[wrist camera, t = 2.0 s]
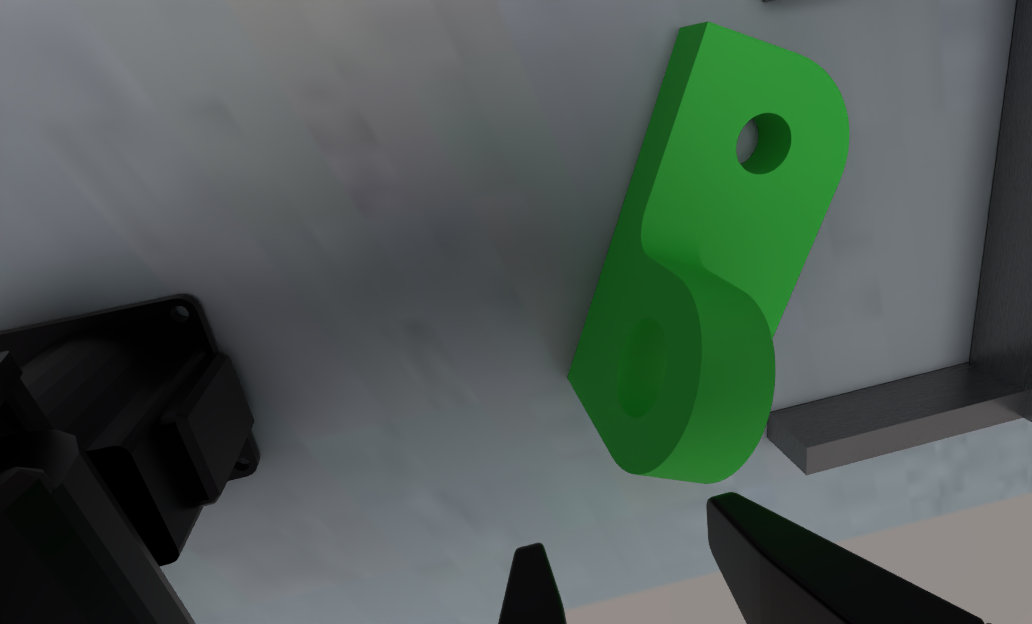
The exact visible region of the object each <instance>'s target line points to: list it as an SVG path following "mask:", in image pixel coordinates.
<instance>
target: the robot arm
mask: <svg viewBox="0 0 1032 624" xmlns="http://www.w3.org/2000/svg"><path fill="white" fill-rule="evenodd" d="M176 306H182V307H184V308H186V309H187V311H188V312H189V317H181V316H179V315H178V314H177V313H176V311H175V307H176ZM253 423H254V419H253V416H252V414H251V411H250V409H249V406H248V403H247V401H246V398H245V396H244V393H243V391H242V388H241V385H240V383H239V380H238V378H237V375H236V373H235V370H234V367H233V365H232V362H231V360H230V357H229V356H227V355H226V354H224V353H222V352H219V350H218V348H217V345H216V343H215V340H214V337H213V335H212V332H211V330H210V327H209V325H208V322H207V320H206V317H205V315H204V312H203V310H202V307H201V305H200V304H199V302H198V300H196V299H195V298H194V297H192V296H189V295H186V294H177V295H173V296H168V297H163V298H158V299H153V300H149V301H144V302H139V303H134V304H129V305H125V306H120V307H115V308H110V309H105V310H101V311H96V312H91V313H86V314H81V315H77V316H72V317H67V318H62V319H57V320H53V321H48V322H43V323H38V324H33V325H29V326H24V327H19V328H14V329H9V330H5V331H0V624H196V623H195V622H194V620H193V619H192V617H191V615H190V614H189V612H188V611H187V609H186V608H185V606H184V604H183V603H182V601H181V600H180V598H179V597H178V595H177V594H176V592H175V590H174V589H173V587H172V586H171V584H170V583H169V581H168V580H167V578H166V576H165V575H164V573H163V572H162V570H161V569H160V567H159V566H163V565H167V564H171V563H173V562H175V561H176V560H177V559H178V557H179V556H180V553H181V551H182V549H183V547H184V545H185V543H186V541H187V539H188V537H189V535H190V533H191V531H192V529H193V527H194V525H195V523H196V521H197V518H198V516H199V514H200V512H201V510H202V508H203V506H206V505H210V504H214V503H215V502H216V501H217V500H218V498H219V497H220V495H221V494H222V491H223V489H224V487H225V485H226V483H227V481H230V480H234V479H238V478H242V477H247V476H249V475H251V474H253V473H254V472H255V471H256V469H257V466H258V464H259V461H260V454H259V451H258V449H257V446H256V444H255V441H254V439H253V436H252V434H251V431H250V430H251V428H252V426H253ZM238 458H245V459H247V460H248V461H249V462H250V463H248V464H242V463H240V462H239V461H238V460H237V459H238ZM707 524H708V540H709V545H710V549H711V552H712V554H713V556H714V559H715V561H716V563H717V565H718V567H719V569H720V571H721V573H722V575H723V577H724V579H725V581H726V583H727V585H728V587H729V589H730V591H731V593H732V595H733V597H734V599H735V601H736V603H737V605H738V607H739V609H740V611H741V613H742V615H743V617H744V619H745V621H746V623H747V624H984V622H983V620H982V619H981V618H979V617H977V616H975V615H973V614H971V613H969V612H967V611H965V610H963V609H961V608H959V607H957V606H955V605H953V604H951V603H950V602H948V601H946V600H944V599H942V598H940V597H938V596H936V595H934V594H932V593H930V592H928V591H926V590H924V589H922V588H920V587H918V586H916V585H914V584H912V583H911V582H909V581H907V580H905V579H903V578H901V577H899V576H897V575H895V574H893V573H891V572H889V571H887V570H885V569H883V568H881V567H879V566H878V565H875V564H874V563H872V562H870V561H868V560H866V559H864V558H862V557H860V556H858V555H856V554H854V553H852V552H850V551H848V550H846V549H844V548H842V547H840V546H839V545H837V544H835V543H833V542H831V541H829V540H827V539H825V538H823V537H821V536H819V535H817V534H815V533H813V532H811V531H809V530H807V529H805V528H804V527H802V526H800V525H798V524H796V523H794V522H792V521H790V520H788V519H786V518H784V517H782V516H780V515H778V514H776V513H774V512H772V511H770V510H768V509H766V508H765V507H763V506H761V505H759V504H757V503H755V502H753V501H751V500H749V499H747V498H745V497H743V496H741V495H739V494H737V493H734V492H729V493H725V494H721V495H717V496H713V497H711V498H709V499H708V501H707ZM498 624H567V623H566V618H565V612H564V607H563V604H562V600H561V597H560V594H559V591H558V588H557V585H556V582H555V579H554V576H553V573H552V570H551V566H550V563H549V560H548V557H547V554H546V551H545V548H544V546H543V545H542V544H541V543H535V544H531V545H527V546H523V547H519V548H517V549H516V551H515V553H514V557H513V561H512V565H511V570H510V574H509V579H508V583H507V587H506V592H505V596H504V600H503V605H502V609H501V613H500V618H499V622H498ZM987 624H991V623H987Z"/></svg>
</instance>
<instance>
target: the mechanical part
mask: <svg viewBox="0 0 1032 624" xmlns="http://www.w3.org/2000/svg"><path fill="white" fill-rule="evenodd" d="M752 118H753V119H754V120H755V122H756V124H757V127H758V132H759V138H758V143H757V147H756V149H755V151H754V153H753V154H752V156H751V157H750V158H749V159H748V160H747V161H746V162H744V163H743V164H740V163H739V161H738V158H737V154H736V144H737V139H738V136H739V134H740V132H741V130H742V128H743V127H744V125H745V124H746V123H747V122H748V121H749V120H751V119H752ZM848 147H849V122H848V115H847V110H846V107H845V103H844V100H843V98H842V96H841V93H840V91H839V89H838V87H837V86H836V84H835V82H834V81H833V80H832V78H831V77H830V76H829V75H828V74H827V73H826V71H825V70H824V69H823V68H821V67H820V66H819V65H818V64H816V63H815V62H813V61H812V60H810V59H809V58H807V57H804V56H802V55H800V54H797V53H795V52H792V51H789V50H786V49H783V48H781V47H778V46H775V45H772V44H769V43H767V42H764V41H761V40H758V39H755V38H753V37H750V36H747V35H744V34H742V33H739V32H736V31H733V30H730V29H728V28H725V27H722V26H719V25H716V24H714V23H711V22H704V23H700V24H695V25H691V26H686V27H682V28H680V30H679V33H678V36H677V39H676V42H675V45H674V48H673V51H672V54H671V57H670V61H669V64H668V67H667V70H666V73H665V76H664V79H663V82H662V85H661V89H660V92H659V95H658V98H657V101H656V104H655V107H654V110H653V113H652V116H651V120H650V123H649V126H648V129H647V132H646V135H645V138H644V141H643V144H642V147H641V151H640V154H639V157H638V160H637V163H636V166H635V169H634V172H633V175H632V178H631V182H630V185H629V188H628V191H627V194H626V197H625V200H624V203H623V206H622V210H621V213H620V216H619V219H618V222H617V225H616V228H615V231H614V234H613V237H612V241H611V244H610V247H609V250H608V253H607V256H606V259H605V262H604V265H603V268H602V272H601V275H600V278H599V281H598V284H597V287H596V290H595V293H594V296H593V299H592V303H591V306H590V309H589V312H588V315H587V318H586V321H585V324H584V327H583V331H582V334H581V337H580V340H579V343H578V346H577V349H576V352H575V355H574V358H573V362H572V365H571V368H570V371H569V374H568V377H567V378H568V380H569V382H570V383H571V385H572V387H573V389H574V391H575V392H576V394H577V396H578V398H579V399H580V401H581V403H582V405H583V406H584V408H585V410H586V412H587V413H588V415H589V417H590V419H591V420H592V422H593V424H594V426H595V428H596V429H597V431H598V433H599V435H600V436H601V438H602V440H603V442H604V443H605V445H606V447H607V449H608V450H609V452H610V454H611V456H612V457H613V459H614V460H615V462H616V463H617V464H618V465H619V466H620V467H621V468H622V469H623V470H625V471H626V472H628V473H631V474H636V475H644V476H651V477H658V478H666V479H673V480H681V481H688V482H695V483H704V484H709V483H715V482H719V481H721V480H724V479H726V478H727V477H729V476H731V475H732V474H733V473H735V472H736V471H737V470H738V469H739V468H740V467H741V466H742V465H743V464H744V463H745V462H746V461H747V459H748V458H749V457H750V455H751V454H752V453H753V451H754V449H755V448H756V446H757V444H758V442H759V440H760V439H761V437H762V434H763V432H764V429H765V427H766V424H767V420H768V417H769V414H770V410H771V405H772V400H773V394H774V385H775V354H774V347H773V341H772V338H773V336H774V333H775V331H776V329H777V326H778V324H779V322H780V319H781V317H782V315H783V312H784V310H785V308H786V305H787V303H788V300H789V298H790V296H791V293H792V291H793V289H794V286H795V284H796V282H797V279H798V277H799V275H800V272H801V270H802V268H803V265H804V263H805V261H806V258H807V256H808V254H809V251H810V249H811V247H812V244H813V242H814V240H815V237H816V235H817V233H818V230H819V228H820V226H821V223H822V221H823V219H824V216H825V214H826V212H827V209H828V207H829V205H830V202H831V200H832V198H833V195H834V193H835V191H836V188H837V186H838V184H839V181H840V178H841V176H842V173H843V170H844V167H845V163H846V159H847V154H848Z"/></svg>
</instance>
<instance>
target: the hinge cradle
mask: <svg viewBox="0 0 1032 624" xmlns="http://www.w3.org/2000/svg"><path fill="white" fill-rule="evenodd" d="M767 1H773V0H763V2H767ZM1020 418H1025V419H1027V420H1029V421H1031V422H1032V0H1017V8H1016V15H1015V23H1014V31H1013V38H1012V46H1011V53H1010V61H1009V68H1008V76H1007V83H1006V91H1005V99H1004V106H1003V114H1002V121H1001V129H1000V136H999V144H998V151H997V159H996V167H995V174H994V182H993V189H992V197H991V204H990V212H989V219H988V227H987V235H986V242H985V250H984V257H983V265H982V272H981V280H980V287H979V295H978V303H977V310H976V318H975V325H974V333H973V340H972V348H971V355H970V362H969V363H965V364H961V365H957V366H953V367H949V368H945V369H941V370H937V371H933V372H929V373H925V374H921V375H917V376H913V377H910V378H906V379H902V380H898V381H894V382H890V383H886V384H882V385H878V386H874V387H870V388H866V389H862V390H858V391H854V392H850V393H846V394H842V395H838V396H834V397H830V398H826V399H822V400H818V401H814V402H810V403H806V404H803V405H799V406H795V407H791V408H787V409H783V410H779V411H775V412H771V413H770V414H769V417H768V439H769V440H770V441H771V442H772V443H773V444H774V445H775V446H776V447H777V448H778V449H780V450H781V451H782V452H783V453H784V454H785V455H786V456H787V457H788V458H789V459H790V460H791V461H792V462H793V463H794V464H795V465H796V466H797V467H798V468H799V469H800V470H801V471H803V472H804V473H805V474H806V475H809V474H813V473H816V472H820V471H824V470H828V469H831V468H835V467H839V466H843V465H846V464H850V463H854V462H858V461H862V460H865V459H869V458H873V457H877V456H880V455H884V454H888V453H892V452H895V451H899V450H903V449H907V448H910V447H914V446H918V445H922V444H926V443H929V442H933V441H937V440H941V439H944V438H948V437H952V436H956V435H959V434H963V433H967V432H971V431H975V430H978V429H982V428H986V427H990V426H993V425H997V424H1001V423H1005V422H1008V421H1012V420H1016V419H1020Z"/></svg>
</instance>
